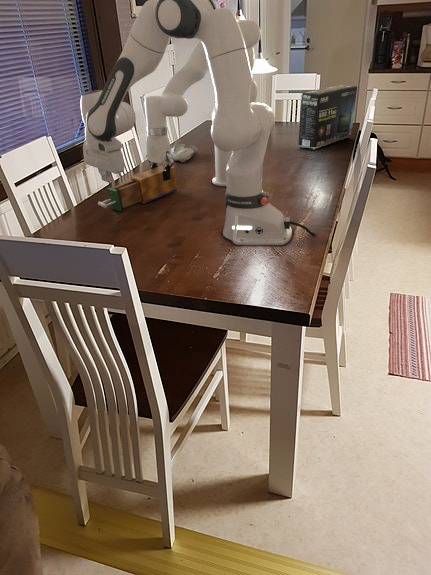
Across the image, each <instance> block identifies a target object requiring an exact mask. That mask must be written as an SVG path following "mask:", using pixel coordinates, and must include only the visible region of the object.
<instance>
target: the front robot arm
mask: <svg viewBox="0 0 431 575" xmlns="http://www.w3.org/2000/svg"><path fill="white" fill-rule="evenodd" d="M237 20H238V19H237V17H236V15H235V13H234V12H233V11H232V10H231V9H230V8H229V9H228V8H224V7H219V8H218V7H217V5H216V4H215V2H214V1H213V0H147V1H146V2H144V4H143V5H142V7H141V8H140V10H139V11H138V14H137V15H136V18H135V20H134V22H133V23H132V26H131V29H130V31H129V34H128V37H127V38H126V39H127V40H126V42H125V44H124V47H123V49H122V51H121V53H120V55H119V57H118V59H117V61H116V62H115V64H114V66H113V68H112V70H111V72H110V73H109V76H108V77H107V80H106V82H105V85H104V86H103V88H102V89H96V90H92V91H91V90H90V91H88V92H84V93H82V95H81V96H80V111H81V119H82V122H83V124H84V127H85V128H84V135H85V138H84V140H83V146H82V153H83V161H84V163H85V164H86V165H87V166H90V167H92V168H93V167H94V168H96V169H98V170H97V171H98V173H99V175H100V177H101V181H102V182H105V183H109V182H111V174H115V175H116V174H120V173H121V174H122V173H123V172H124V171H125V160H124V154H123V152H122V150H121V149H122V148H123V144H122V142H121V141H120V140H118V138H116V137H117V136H120V135H122V134H124V133H126V132H128V131H130V130H131V129H133V127H134V126H135V125H136V119H137V118H136V113H135V110H134V108H133V106H132V105H130V103H128V102H127V101H124V99H125V97H126V95H127V93H128V92H129V90H130V89H131V88H132V87H133V86H134V85H135V84H136V83H138V82H139V81H141V80H143V79H144V78H146V77H148V76H149V75H150V74H152V73H154V72H155V71H156V70H157V68H158V66H159V65H160V64H161V62H162V60H163V58H164V57H165V54H166V51H167V48H168V47H169V43H170V42H171V40H172V38H174V39H186V40H193V39H197V40H198V39H199V40H200V41H201V43H202V45H203V47H204V50H205V54H206V58H207V62H208V66H209V70H208V71H209V74H210V77H211V82H212V86H213V91H214V107H215V118H214V122H213V124H211V128H210V137H211V140H212V142H213V145H214V146H215V145H216V147H217V148H219V149H220V150H222V151H225V152H232V153H231V157H230V159H229V161H228V163H227V167H226V184H227V186H226V190H225V194H224V205H225V209H226V210H225V218H224V219H225V220H224V226H223V229H222V235H223V237H225V239H228V240H230V241H232V243H233V244H234V245H236V246H283V245H286V244H288V243H289V242H290V240H291V239H292V237H293V228H292V227H291V225H292V226H297V227H299V228H301V229H303V230H305V231H306V233H308V234H309V235H311V236H316V235H315V232H312V231H311V230H310V229H309V227H306V226H305V225H303V224H301V223H298V222H295V221H291V216H285V215H284V213H283V212H282V211H280V210H279V209H278V208H277V207H276V206H275V205H272V204H271V203H270V202H269V194H270V192H269V191H267V192H266V191H265V190H263V175H264V174H263V169H264V164H265V163H264V162H265V158H266V153H267V148H268V144H269V139H270V135H271V133H272V131H273V129H274V127H275V122H276V121H275V120H276V118H275V115H274V112H273V110H272V108H271V107H270V106H269V105H268V104H265V103H261V102H255V103H250V86H251V83H252V79H253V72H252V73H251V68H250V64H249V60H248V55H247V51H246V49H245V48H246V47H245V43H244V39H243V36H242V33H241V30H240V27H239V24H238V22H237Z"/></svg>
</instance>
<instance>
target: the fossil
mask: <svg viewBox="0 0 431 575" xmlns="http://www.w3.org/2000/svg"><path fill="white" fill-rule="evenodd" d="M170 149H171V158H172V159H173V161H174V162H177V161H179V162H180V163H185V162H187V161H188V160H190V159H191V158H192V157H193V156H194V155H197V154H198V153H199V150H198V148H197V146H195V145H188V146H187V145H186V143H184V142H183V143H181V142H176V143H175V145H174V146H173V147H172V148H170Z"/></svg>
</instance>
